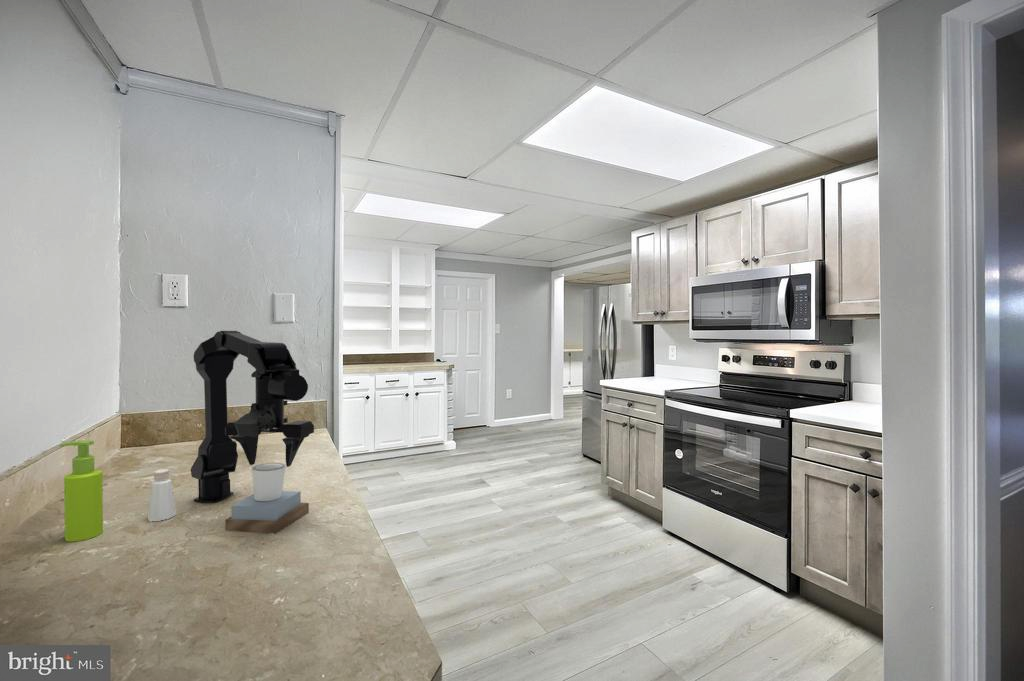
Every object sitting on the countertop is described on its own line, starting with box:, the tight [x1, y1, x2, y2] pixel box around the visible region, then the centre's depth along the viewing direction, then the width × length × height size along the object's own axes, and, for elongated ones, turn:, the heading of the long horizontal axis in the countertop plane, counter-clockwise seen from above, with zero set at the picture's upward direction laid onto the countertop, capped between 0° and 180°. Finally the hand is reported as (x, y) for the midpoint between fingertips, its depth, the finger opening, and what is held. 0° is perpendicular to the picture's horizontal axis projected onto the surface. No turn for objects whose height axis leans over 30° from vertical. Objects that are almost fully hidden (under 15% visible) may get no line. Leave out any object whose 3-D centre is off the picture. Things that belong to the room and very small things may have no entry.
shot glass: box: [251, 462, 287, 501], centre depth 104 cm, size 7×7×7 cm
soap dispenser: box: [58, 440, 104, 543], centre depth 96 cm, size 6×7×20 cm
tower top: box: [231, 490, 302, 521], centre depth 104 cm, size 10×10×3 cm
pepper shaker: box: [147, 468, 177, 523], centre depth 106 cm, size 5×5×11 cm
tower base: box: [224, 501, 310, 535], centre depth 104 cm, size 12×12×3 cm
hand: (270, 465), depth 105 cm, fingers open, 9 cm apart
